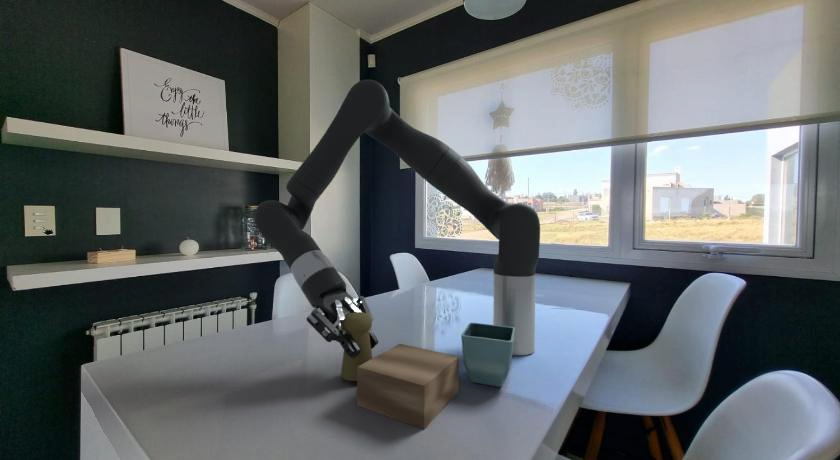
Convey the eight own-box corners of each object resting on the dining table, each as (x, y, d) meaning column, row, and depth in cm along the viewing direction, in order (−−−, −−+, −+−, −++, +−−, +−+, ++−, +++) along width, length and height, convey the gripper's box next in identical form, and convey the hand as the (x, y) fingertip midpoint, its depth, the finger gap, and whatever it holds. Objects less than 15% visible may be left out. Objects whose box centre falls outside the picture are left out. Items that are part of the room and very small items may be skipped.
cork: (367, 382, 57) (367, 318, 57) (334, 379, 58) (334, 316, 58) (378, 367, 63) (378, 310, 63) (349, 365, 64) (349, 308, 64)
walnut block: (399, 375, 62) (399, 343, 61) (458, 391, 56) (458, 356, 56) (356, 405, 51) (357, 366, 51) (424, 429, 45) (424, 385, 45)
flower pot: (515, 373, 63) (515, 326, 63) (512, 395, 55) (512, 341, 54) (469, 366, 66) (469, 321, 66) (460, 386, 57) (460, 335, 57)
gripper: (297, 270, 58) (350, 351, 52) (352, 262, 70) (400, 327, 64) (278, 296, 60) (325, 377, 54) (334, 284, 73) (378, 349, 67)
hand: (365, 350), depth 59 cm, fingers closed on cork, 4 cm apart
